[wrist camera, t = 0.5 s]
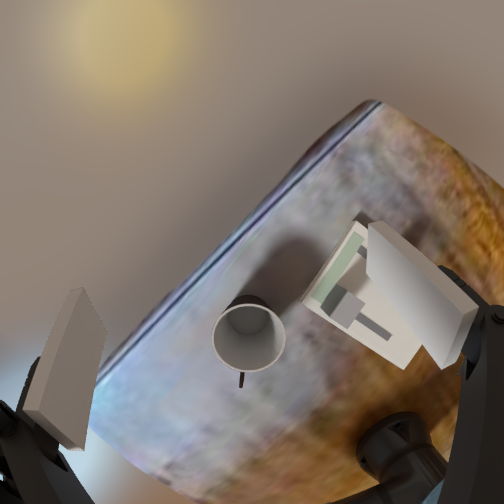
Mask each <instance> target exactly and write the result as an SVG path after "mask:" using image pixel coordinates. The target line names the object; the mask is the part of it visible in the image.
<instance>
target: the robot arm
mask: <svg viewBox="0 0 504 504" xmlns="http://www.w3.org/2000/svg"><path fill="white" fill-rule="evenodd" d="M366 274H367V275H368V276H369V278H370V279H371V280H372V281H373V282H374V284H375V285H376V286H377V287H378V288H379V290H380V291H381V292H382V293H383V295H384V296H385V297H386V298H387V299H388V301H389V302H390V303H391V304H392V306H393V307H394V308H395V309H396V311H397V312H398V313H399V314H400V316H401V317H402V318H403V319H404V321H405V322H406V323H407V325H408V326H409V327H410V328H411V330H412V331H413V332H414V334H415V335H416V336H417V338H418V339H419V340H420V342H421V343H422V344H423V346H424V347H425V348H426V350H427V351H428V352H429V354H430V355H431V356H432V358H433V359H434V360H435V362H436V363H437V365H438V366H439V367H440V369H441V370H442V369H444V368H446V367H448V366H449V365H451V364H453V363H455V362H456V361H457V359H458V357H459V355H460V352H462V353H463V354H464V355H465V359H464V361H463V363H462V365H461V367H460V369H459V371H458V374H457V376H460V374H461V372H462V370H463V373H462V384H461V393H460V402H459V409H458V416H457V422H456V428H455V434H454V439H453V444H452V449H451V453H450V458H449V462H447V461H446V460H445V459H444V458H443V457H442V455H441V454H440V453H439V452H438V451H437V450H436V449H435V447H434V446H433V444H432V440H431V436H430V433H429V429H428V426H427V424H426V422H425V421H424V420H423V419H422V418H421V417H420V416H419V415H418V414H416V413H412V412H401V413H397V414H394V415H391V416H389V417H387V418H385V419H383V420H381V421H380V422H378V423H377V424H375V425H374V426H373V427H372V428H371V429H370V430H369V431H368V432H367V433H366V434H365V435H364V436H363V438H362V439H361V441H360V442H359V444H358V447H357V451H356V457H357V460H358V463H359V465H360V467H361V468H362V469H363V470H364V471H365V472H366V473H367V474H369V475H370V476H371V477H373V478H374V479H375V480H377V481H378V482H379V483H380V484H378V485H376V486H373V487H371V488H369V489H366V490H364V491H362V492H359V493H357V494H354V495H351V496H349V497H346V498H343V499H341V500H338V501H335V502H332V503H331V502H329V503H327V504H504V306H501V305H491V306H490V305H488V304H487V303H486V302H485V301H484V300H483V299H482V298H481V297H480V296H479V295H478V294H477V293H476V292H475V291H474V290H473V289H472V288H471V287H470V286H469V285H467V284H466V283H465V282H464V281H463V280H462V279H460V277H459V276H458V275H457V274H455V273H454V272H453V271H452V270H450V269H448V268H446V267H444V266H442V265H440V266H436V265H434V264H433V263H432V262H431V261H430V260H429V259H428V258H427V257H425V256H424V255H423V254H422V253H421V252H420V251H419V250H417V249H416V248H415V247H414V246H413V245H411V244H410V243H409V242H408V241H407V240H406V239H404V238H403V237H402V236H401V235H400V234H398V233H397V232H396V231H395V230H393V229H392V228H391V227H390V226H388V225H387V224H386V223H385V222H383V221H377V222H372V223H368V244H367V265H366ZM106 335H107V330H106V328H105V327H104V325H103V323H102V321H101V320H100V318H99V316H98V314H97V312H96V310H95V309H94V307H93V305H92V303H91V301H90V299H89V297H88V295H87V293H86V291H85V289H84V288H83V287H82V288H77V289H73V290H70V291H69V293H68V296H67V298H66V300H65V302H64V304H63V306H62V308H61V310H60V313H59V315H58V317H57V319H56V321H55V324H54V326H53V328H52V331H51V333H50V335H49V338H48V340H47V343H46V345H45V347H44V350H43V352H42V355H41V356H40V357H38V358H37V359H36V360H35V362H34V363H33V364H32V366H31V368H30V371H29V373H28V378H27V379H26V382H25V386H24V387H23V390H22V393H21V396H20V399H19V402H18V405H17V408H16V411H15V412H14V411H13V410H12V409H11V408H10V407H9V406H8V405H7V404H6V403H5V402H4V401H2V400H0V474H1V475H3V481H2V480H0V504H95V503H94V502H93V500H92V499H91V498H90V496H89V495H88V493H87V492H86V490H85V489H84V487H83V486H82V485H81V483H80V482H79V480H78V478H77V477H76V476H75V474H74V472H73V470H72V469H71V467H70V466H69V464H68V462H67V461H66V459H65V457H64V455H63V454H62V453H61V452H60V451H59V450H58V448H59V443H60V444H61V445H63V446H64V447H65V448H66V449H67V450H72V451H84V448H85V441H86V434H87V428H88V421H89V415H90V409H91V404H92V398H93V393H94V388H95V383H96V378H97V373H98V369H99V364H100V360H101V355H102V351H103V347H104V343H105V339H106Z"/></svg>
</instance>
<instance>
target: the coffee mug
mask: <svg viewBox="0 0 504 504" xmlns="http://www.w3.org/2000/svg"><path fill="white" fill-rule="evenodd" d="M211 342H212V347H213V350H214V352H215V354H216V356H217V357H218V358H219V360H220V361H221V362H222V363H224V364H225V365H226V366H228V367H229V368H231V369H234V370H236V371H240V372H241V373H240V383H239V388H242V387H243V382H244V372H257V371H261V370H264V369H266V368H268V367H269V366H271V365H272V364H274V363H275V362H276V361H277V360H278V358H279V357H280V356H281V354H282V352H283V350H284V347H285V343H286V334H285V329H284V326H283V324H282V322H281V320H280V319H279V317H278V316H277V315H276V314H275V313H274V312H273V311H272V310H271V309H270V308H269V306H268V305H267V304H266V303H265V302H264V301H263V300H262V299H260V298H258V297H256V296H252V295H245V296H241V297H238V298H236V299H235V300H234V301H233V302H232V303H231V304H230V305H229V306H228V307H227V308H226V309H225V311H224V312H223V313H222V314H221V315H220V316H219V318H218V319H217V320H216V322H215V324H214V326H213V329H212V334H211Z"/></svg>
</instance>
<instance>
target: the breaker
mask: <svg viewBox="0 0 504 504" xmlns="http://www.w3.org/2000/svg"><path fill="white" fill-rule="evenodd" d="M365 304H366V303H364V302H363V301H361V300H360V299H359V298H357V297H356V296H354V295H353V294H352V293H350V292H349V291H347V290H346V289H344V288H342V287H341V286H339V285H337V284H336V285H335V286H334V288H333V289H332V291H331V292H330V294H329V295H328V297H327V298H326V299H325V301H324V302H323V304H322V305H321V306H320V308H321V309H322V310H323V311H324V312H325V313H326V314H327V315H328V316H329V318H331V319H332V320H334V321H335V322H337V323H338V324H340V325H341V326H343V327H344V328H346V329H348V328H349V327H350V325H351V324H352V322H353V321H354V320H355V318H356V317H357V315H358V314H359V312H360V311H361V309H362V308H363V307H364V305H365Z"/></svg>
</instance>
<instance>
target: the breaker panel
mask: <svg viewBox="0 0 504 504" xmlns="http://www.w3.org/2000/svg"><path fill="white" fill-rule="evenodd" d="M367 244H368V229H366V228H365V227H364V226H362V225H361V224H360V223H359V222H357V221H352V222H351V223H350V225H349V227H348V228H347V230H346V231H345V233H344V234H343V236H342V237H341V239H340V240H339V242H338V244H337V245H336V247H335V248H334V250H333V251H332V253H331V254H330V256H329V257H328V259H327V260H326V262H325V263H324V265H323V266H322V267H321V269H320V270H319V272H318V273H317V275H316V276H315V278H314V279H313V281H312V282H311V284H310V285H309V286H308V288H307V289H306V291H305V292H304V294H303V295H302V296H301V298H300V299H299V301H300V302H301V303H302V304H303V305H305V306H306V307H308V308H309V309H311V310H312V311H314V312H315V313H317V314H318V315H320V316H321V317H323V318H324V319H326V320H327V321H329V322H331V323H332V324H334V325H335V326H337V327H338V328H340V329H341V330H343V331H344V332H346V333H347V334H349V335H350V336H352V337H353V338H355V339H356V340H358V341H360V342H361V343H363V344H364V345H366V346H367V347H369V348H370V349H372V350H373V351H375V352H376V353H378V354H380V355H381V356H383V357H384V358H386V359H387V360H389V361H390V362H392V363H393V364H395V365H397V366H398V367H400V368H401V369H403V370H404V369H405V367H406V366H407V365H408V363H409V362H410V361H411V359H412V358H413V356H414V355H415V354H416V352H417V351H418V349H419V348H420V346H421V345H422V343H421V342H420V340H419V339H418V338H417V336H416V335H415V334H414V332H413V331H412V330H411V328H410V327H409V326H408V325H407V323H406V322H405V321H404V319H403V318H402V317H401V316H400V314H399V313H398V312H397V311H396V309H395V308H394V307H393V306H392V304H391V303H390V302H389V301H388V299H387V298H386V297H385V296H384V295H383V293H382V292H381V291H380V290H379V288H378V287H377V286H376V285H375V284H374V282H373V281H372V280H371V279H370V278H369V276H368V275H367V274H366V265H367ZM336 284H337V285H339V286H341V287H342V288H344V289H346V290H347V291H349V292H350V293H352V294H353V295H354V296H356V297H357V298H359V299H360V300H361V301H363V302H364V303H366V304H365V305H364V307H363V308H362V309H361V311H360V312H359V314H358V315H357V317H356V318H355V320H354V321H353V322H352V324H351V325H350V327H349V328H348V329H346V328H344V327H343V326H341V325H340V324H338V323H337V322H335V321H334V320H332V319H331V318H329V316H328V315H327V314H326V313H325V312H324V311H323V310H322V309H321V308H320V306H321V305H322V304H323V302H324V301H325V299H326V298H327V297H328V295H329V294H330V292H331V291H332V289H333V288H334V286H335V285H336Z"/></svg>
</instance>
